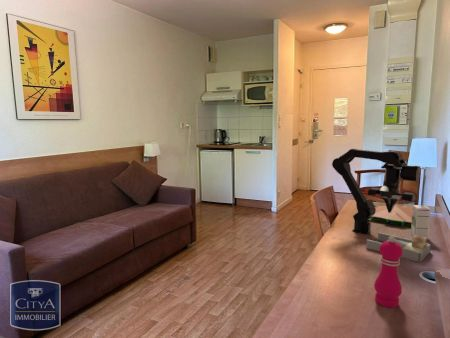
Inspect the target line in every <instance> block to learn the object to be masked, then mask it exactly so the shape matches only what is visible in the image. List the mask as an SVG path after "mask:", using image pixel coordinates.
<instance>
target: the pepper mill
mask: <svg viewBox="0 0 450 338" xmlns="http://www.w3.org/2000/svg"><path fill="white" fill-rule="evenodd" d="M388 240H389V241H385V242H383V243H382V244H381V245H380V248H379V251H378V252H379V253H380V255H381V256H380V263H381V269H380V271H379V274H378V275H377V277H376V279H375V280H374V285H373V288H374V290H375V296H374V300H375V302H376V303H377V304H378V305H380V306H383V307H386V308H397V307H398V306H399V305H400V304H399V302H400V298H399V297H400V296H401V295H402V293H403V287H402V284H401V281H400V279H399V274H398V268H399V266H400V265H401V263H400V261H401V258H402V257H401V256H402V254H403V250H402V247H401V246H400V245H399V244H398V243H396V242H395V238H394V237H392V236H391V237H389V238H388Z"/></svg>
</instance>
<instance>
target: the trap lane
mask: <svg viewBox="0 0 450 338" xmlns="http://www.w3.org/2000/svg"><path fill="white" fill-rule="evenodd" d="M391 236H392V237H394V238H395V242H396V243H398V244H399V245H400V246H401V247H402V250H403V254H402V256H401V257H400V258H402V259H407V260H411V261H415V262H418V263H422V262H423V260H424V259H425V258H426V257H427V256H428V255H429V254H430V253H431V243H427V242H426V247H425V248H423V249H419V248H414V247H412V239H409V238H406V237H401V236H396V235H393V234H388V233H383V232H377V240H371V239H366V243H365V244H366V249H369V250H374V251H377V252H380V251H379V248H380V245H381V244H382V243H383V242H385V241H389V240H388V238H389V237H391Z"/></svg>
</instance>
